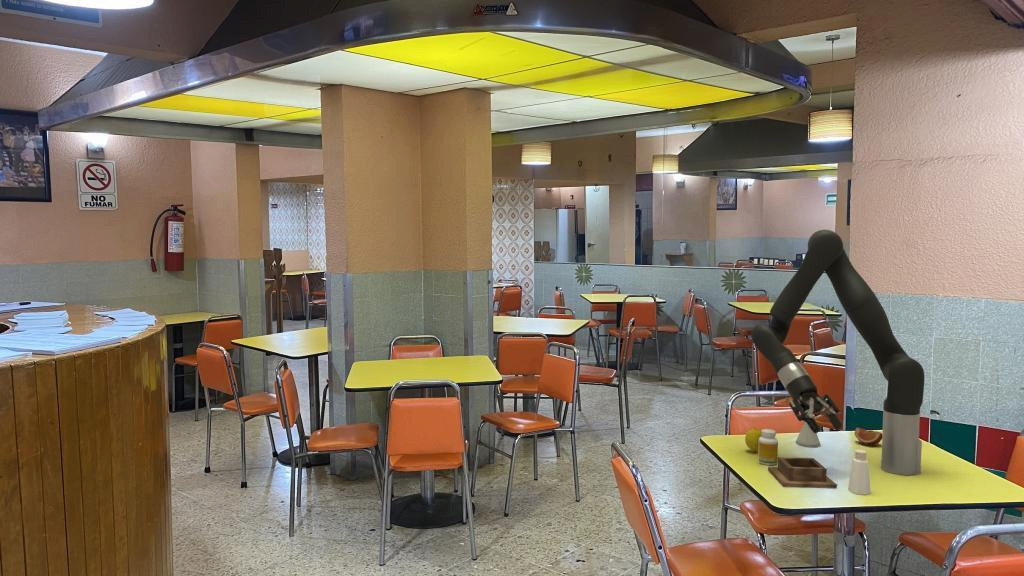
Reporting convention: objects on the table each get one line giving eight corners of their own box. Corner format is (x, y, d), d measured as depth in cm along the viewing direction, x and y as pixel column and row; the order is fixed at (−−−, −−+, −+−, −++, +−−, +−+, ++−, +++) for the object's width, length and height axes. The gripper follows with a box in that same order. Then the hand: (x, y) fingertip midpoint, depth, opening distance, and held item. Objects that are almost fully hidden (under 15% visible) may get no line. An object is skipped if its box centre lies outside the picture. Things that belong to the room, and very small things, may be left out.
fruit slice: (850, 443, 233) (851, 428, 232) (862, 440, 236) (862, 425, 236) (875, 449, 226) (875, 433, 225) (886, 446, 229) (887, 430, 229)
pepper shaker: (872, 490, 187) (873, 449, 186) (869, 496, 183) (870, 454, 182) (849, 486, 190) (851, 446, 190) (846, 492, 186) (847, 451, 185)
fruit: (744, 448, 225) (745, 423, 224) (762, 450, 223) (763, 425, 223) (745, 453, 219) (745, 428, 219) (764, 455, 218) (764, 429, 218)
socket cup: (817, 471, 203) (818, 456, 202) (836, 488, 189) (837, 471, 188) (767, 470, 204) (768, 454, 203) (783, 486, 190) (783, 470, 189)
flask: (791, 442, 233) (792, 412, 232) (809, 440, 235) (810, 411, 234) (806, 448, 226) (807, 417, 225) (825, 446, 228) (826, 416, 227)
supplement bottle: (778, 466, 207) (779, 433, 207) (759, 465, 208) (760, 432, 208) (775, 460, 213) (776, 429, 212) (756, 459, 214) (757, 427, 213)
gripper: (786, 376, 198) (819, 425, 189) (822, 372, 205) (855, 420, 195) (771, 391, 204) (802, 440, 194) (806, 387, 210) (838, 434, 200)
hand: (828, 430), depth 195 cm, fingers open, 8 cm apart
